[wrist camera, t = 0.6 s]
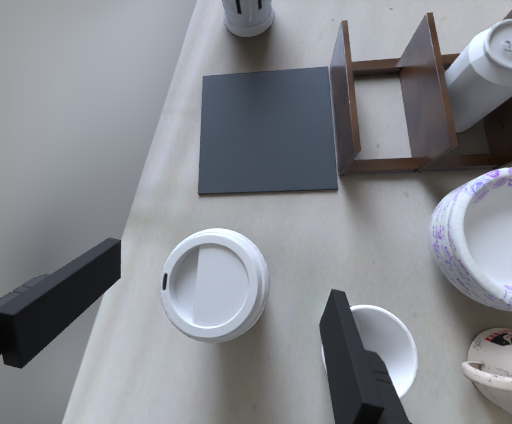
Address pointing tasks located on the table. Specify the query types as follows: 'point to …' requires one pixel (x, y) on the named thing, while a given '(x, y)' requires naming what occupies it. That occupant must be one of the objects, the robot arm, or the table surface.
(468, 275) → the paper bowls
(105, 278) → the robot arm
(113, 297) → the table surface
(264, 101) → the mat
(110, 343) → the table surface
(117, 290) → the table surface
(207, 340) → the coffee cup
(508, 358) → the teacup with lid
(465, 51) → the can
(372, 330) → the dixie cup
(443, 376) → the table surface
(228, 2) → the glass holder
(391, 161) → the rack
